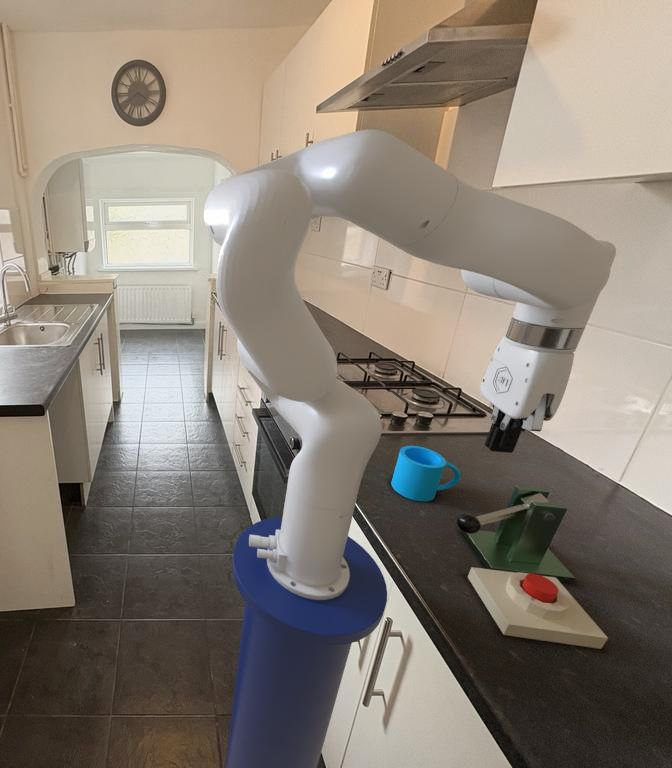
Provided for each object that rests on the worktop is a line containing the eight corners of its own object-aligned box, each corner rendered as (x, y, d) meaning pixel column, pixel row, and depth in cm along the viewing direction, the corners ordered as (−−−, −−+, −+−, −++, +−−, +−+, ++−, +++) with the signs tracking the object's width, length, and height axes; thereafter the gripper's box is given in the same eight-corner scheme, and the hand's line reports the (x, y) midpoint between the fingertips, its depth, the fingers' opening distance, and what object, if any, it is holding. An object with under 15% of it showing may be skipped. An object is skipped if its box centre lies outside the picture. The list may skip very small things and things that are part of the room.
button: (531, 601, 59) (536, 592, 58) (516, 580, 62) (520, 571, 61) (560, 605, 58) (565, 596, 58) (543, 583, 62) (547, 575, 61)
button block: (503, 635, 58) (513, 615, 56) (467, 577, 67) (474, 558, 65) (601, 649, 56) (614, 629, 55) (550, 587, 65) (560, 568, 64)
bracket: (489, 572, 68) (516, 511, 63) (462, 533, 76) (484, 475, 71) (572, 583, 66) (607, 520, 61) (535, 541, 74) (563, 483, 69)
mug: (398, 498, 85) (407, 465, 82) (386, 475, 92) (394, 443, 89) (462, 506, 83) (475, 472, 80) (445, 481, 90) (456, 450, 87)
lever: (465, 540, 69) (460, 526, 69) (456, 526, 72) (451, 513, 71) (556, 517, 65) (551, 501, 64) (542, 503, 68) (537, 489, 67)
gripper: (482, 319, 64) (448, 424, 71) (549, 350, 50) (499, 475, 58) (536, 321, 63) (496, 427, 70) (620, 353, 49) (560, 481, 56)
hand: (498, 449), depth 64 cm, fingers closed
